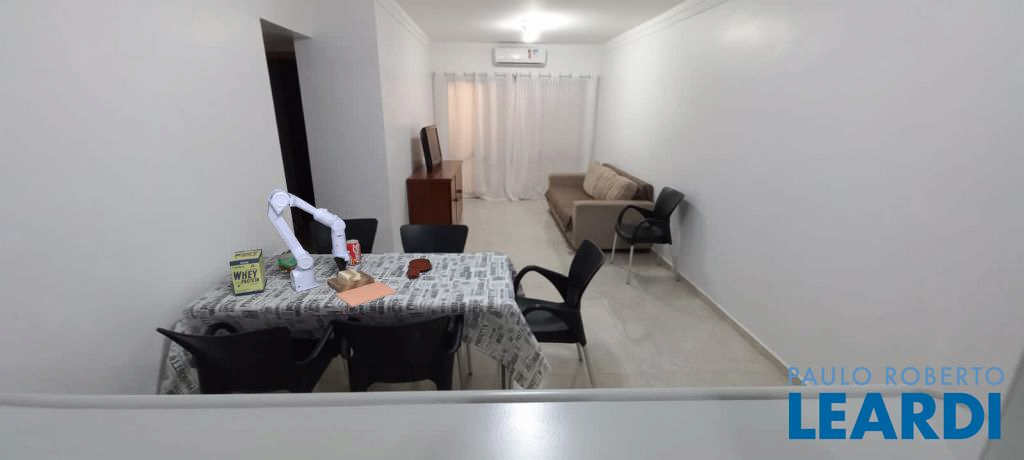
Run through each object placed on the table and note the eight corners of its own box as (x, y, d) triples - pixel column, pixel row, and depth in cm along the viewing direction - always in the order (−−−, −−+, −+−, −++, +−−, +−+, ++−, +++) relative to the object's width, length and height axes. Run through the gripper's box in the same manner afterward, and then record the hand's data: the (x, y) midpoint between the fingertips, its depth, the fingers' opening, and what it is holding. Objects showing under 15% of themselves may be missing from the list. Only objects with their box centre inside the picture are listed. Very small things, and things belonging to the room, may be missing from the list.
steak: (434, 266, 209) (434, 257, 208) (423, 281, 189) (423, 272, 188) (412, 265, 209) (411, 257, 208) (399, 280, 190) (398, 271, 189)
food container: (291, 275, 196) (288, 255, 194) (279, 275, 196) (275, 255, 194) (304, 266, 208) (302, 247, 206) (292, 266, 208) (290, 247, 206)
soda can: (352, 266, 207) (349, 244, 204) (344, 264, 211) (341, 241, 208) (364, 263, 212) (362, 240, 209) (356, 260, 217) (354, 238, 213)
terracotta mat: (352, 306, 163) (351, 306, 163) (335, 295, 174) (335, 294, 174) (397, 292, 177) (397, 291, 177) (379, 282, 188) (379, 281, 188)
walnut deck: (339, 293, 176) (338, 287, 175) (327, 284, 185) (326, 279, 184) (374, 283, 187) (374, 277, 186) (361, 275, 196) (361, 270, 195)
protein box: (235, 297, 172) (228, 262, 168) (240, 284, 186) (234, 251, 182) (264, 292, 177) (258, 258, 172) (267, 280, 190) (262, 248, 186)
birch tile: (347, 282, 181) (346, 277, 180) (338, 277, 187) (338, 272, 186) (360, 279, 185) (359, 273, 184) (351, 273, 191) (351, 268, 190)
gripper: (354, 245, 185) (357, 273, 188) (341, 238, 195) (344, 265, 198) (339, 248, 180) (342, 277, 184) (326, 241, 190) (329, 269, 193)
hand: (342, 271), depth 191 cm, fingers closed
